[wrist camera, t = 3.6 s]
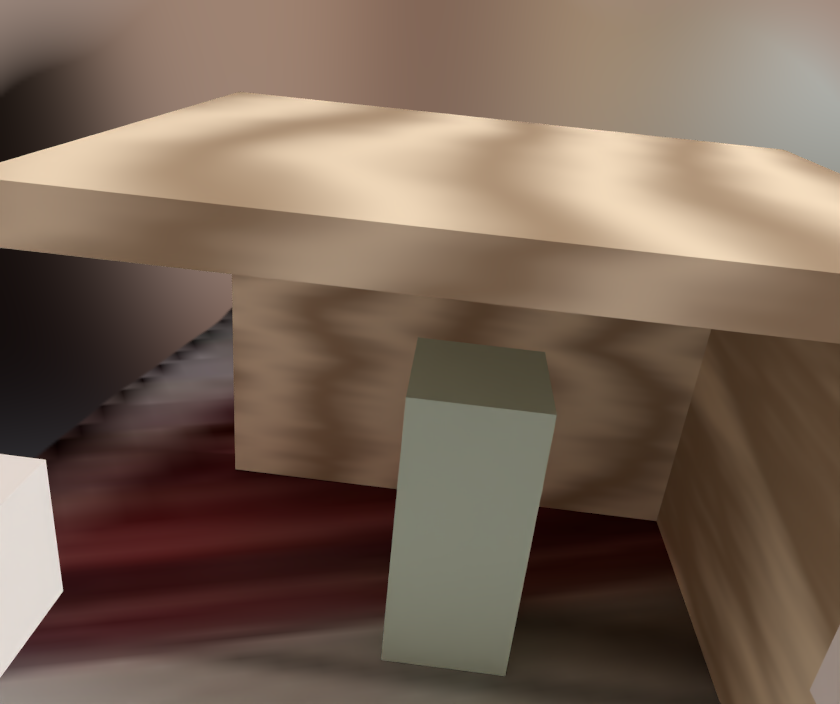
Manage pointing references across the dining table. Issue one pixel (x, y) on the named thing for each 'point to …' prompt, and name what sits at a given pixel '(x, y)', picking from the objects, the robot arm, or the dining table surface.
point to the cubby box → (515, 319)
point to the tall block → (466, 503)
